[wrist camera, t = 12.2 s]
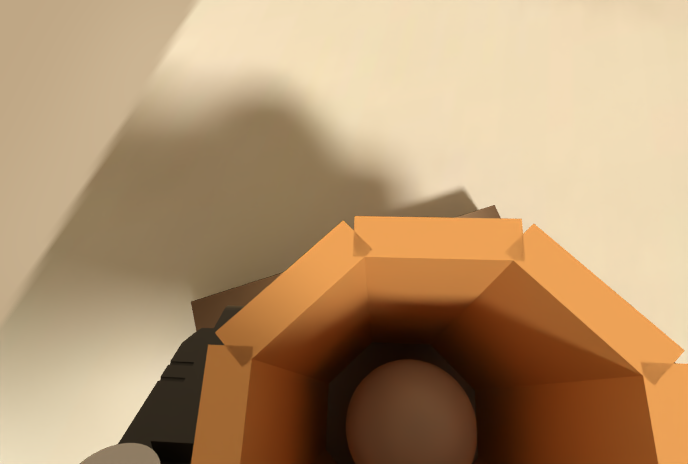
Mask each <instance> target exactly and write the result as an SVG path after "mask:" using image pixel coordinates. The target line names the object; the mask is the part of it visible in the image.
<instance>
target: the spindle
mask: <svg viewBox="0 0 688 464" xmlns="http://www.w3.org/2000/svg"><path fill="white" fill-rule="evenodd" d="M455 218H499V219H501V218H500V216H499V214H498V212H497V209H496V207H495V205H493V206H490V207H487V208H484V209H480V210H477V211H474V212H471V213H468V214H465V215H462V216H458V217H455ZM283 273H284V272H283ZM281 274H282V273H280V274H277V275H273V276H270V277H267V278H264V279H261V280H258V281H255V282H251V283H248V284H245V285H242V286H239V287H236V288H233V289H229V290H226V291H223V292H220V293H217V294H214V295H211V296H208V297H204V298H201V299H198V300H195V301H192V302H191V305H192V310H193V315H194V320H195V326H196V331H198V330H199V329H200V328H214V327H215V325H216V323H217V321H218V320H219V318H220V316H221V314H222V312H223V311H224V309H225V307H227V306H228V305H230V306H246V305H247V304H248V303H249V302H250V301H252V300H253V299H254V298H255V297H256V296H257V295H258V294H260V293H261V292H262V291H263V290H264V289H265V288H266V287H268V286H269V285H270V284H271V283H272V282H273V281H274V280H276V279H277V278H278V277H279V276H280V275H281ZM325 449H326V450H327V452H328V453H329V454H330V455H331V457H332V458H333V459H334V460H335V462H336V463H337V464H473V463H474V462H475V461H476V460H477V459H478V443H477V423H476V403H475V390H474V389H473V388H472V387H471V386H470V385H469V384H468V383H467V382H466V381H465V380H464V379H463V378H462V377H461V376H460V375H459V373H458V372H457V371H456V370H455V369H454V368H453V367H452V366H451V365H450V364H449V363H448V362H447V361H446V360H445V359H444V358H443V357H442V356H441V355H440V354H439V353H438V352H437V351H436V350H435V349H434V348H433V347H432V346H431V345H427V344H401V343H376V342H372V343H371V344H370V345H369V346H368V347H367V348H366V349H364V350H363V351H362V352H361V353H360V354H359V355H358V356H357V357H356V358H355V359H354V360H353V361H352V362H351V363H350V364H349V365H348V366H347V367H346V368H345V369H344V370H343V371H342V372H340V373H339V374H338V375H337V376H336V377H335V378H334V379H333V380H332V381H331V382H330V383H329V391H328V410H327V428H326V446H325Z"/></svg>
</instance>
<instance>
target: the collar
mask: <svg viewBox="0 0 688 464" xmlns="http://www.w3.org/2000/svg"><path fill="white" fill-rule="evenodd" d="M215 333H216V335H217V336H218V337H219V339H220V340H221V341H222V342H223V344H224V345H208V350H207V356H206V363H205V370H204V377H203V384H202V391H201V398H200V405H199V412H198V419H197V425H196V432H195V439H194V446H193V453H192V460H191V464H337V463H336V462H335V460H334V459H333V458H332V457H331V455H330V454H329V453H328V452H327V450H326V449H325V446H326V428H327V410H328V391H329V383H330V382H331V381H332V380H333V379H334V378H335V377H336V376H337V375H338V374H339V373H340V372H342V371H343V370H344V369H345V368H346V367H347V366H348V365H349V364H350V363H351V362H352V361H353V360H354V359H355V358H356V357H357V356H358V355H359V354H360V353H361V352H362V351H363V350H364V349H366V348H367V347H368V346H369V345H370V344H371V343H372V342H376V343H401V344H427V345H431V346H432V347H433V348H434V349H435V350H436V351H437V352H438V353H439V354H440V355H441V356H442V357H443V358H444V359H445V360H446V361H447V362H448V363H449V364H450V365H451V366H452V367H453V368H454V369H455V370H456V371H457V372H458V373H459V375H460V376H461V377H462V378H463V379H464V380H465V381H466V382H467V383H468V384H469V385H470V386H471V387H472V388H473V389H474V390H475V403H476V423H477V443H478V459H477V460H476V461H475V462H474V463H473V464H688V364H676V363H674V362H675V361H676V360H677V359H678V358H679V356H680V355H681V354H682V353H683V352H684V351H685V350H683V349H682V348H681V347H680V346H679V345H677V344H676V343H675V342H674V341H673V340H671V339H670V338H669V337H668V336H667V335H666V334H664V333H663V332H662V331H661V330H660V329H658V328H657V327H656V326H655V325H654V324H652V323H651V322H650V321H649V320H648V319H647V318H645V317H644V316H643V315H642V314H641V313H639V312H638V311H637V310H636V309H635V308H634V307H632V306H631V305H630V304H629V303H628V302H626V301H625V300H624V299H623V298H622V297H620V296H619V295H618V294H617V293H616V292H615V291H613V290H612V289H611V288H610V287H609V286H607V285H606V284H605V283H604V282H603V281H601V280H600V279H599V278H598V277H597V276H596V275H594V274H593V273H592V272H591V271H590V270H588V269H587V268H586V267H585V266H584V265H582V264H581V263H580V262H579V261H578V260H577V259H575V258H574V257H573V256H572V255H571V254H569V253H568V252H567V251H566V250H565V249H563V248H562V247H561V246H560V245H559V244H558V243H556V242H555V241H554V240H553V239H552V238H550V237H549V236H548V235H547V234H546V233H544V232H543V231H542V230H541V229H540V228H539V227H537V226H536V225H535V224H533V225H532V226H531V227H530V228H529V229H528V230H527V231H526V232H525V233H524V234H523V229H522V219H499V218H439V217H379V216H355V219H354V230H353V229H352V228H351V227H350V226H349V225H348V224H347V223H346V222H345V221H344V220H343V221H342V222H341V223H340V224H338V225H337V226H336V227H335V228H334V229H333V230H332V231H330V232H329V233H328V234H327V235H326V236H325V237H324V238H322V239H321V240H320V241H319V242H318V243H317V244H316V245H314V246H313V247H312V248H311V249H310V250H309V251H308V252H306V253H305V254H304V255H303V256H302V257H301V258H300V259H298V260H297V261H296V262H295V263H294V264H293V265H292V266H290V267H289V268H288V269H287V270H286V271H285V272H284V273H282V274H281V275H280V276H279V277H278V278H277V279H276V280H274V281H273V282H272V283H271V284H270V285H269V286H268V287H266V288H265V289H264V290H263V291H262V292H261V293H260V294H258V295H257V296H256V297H255V298H254V299H253V300H252V301H250V302H249V303H248V304H247V305H246V306H245V307H244V308H242V309H241V310H240V311H239V312H238V313H237V314H236V315H234V316H233V317H232V318H231V319H230V320H229V321H228V322H226V323H225V324H224V325H223V326H222V327H221V328H220V329H218V330H217V331H216V332H215Z"/></svg>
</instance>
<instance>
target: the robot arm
mask: <svg viewBox="0 0 688 464" xmlns="http://www.w3.org/2000/svg"><path fill="white" fill-rule="evenodd" d="M244 307H245V306H230V305H228V306H227V307H225V309H224V311H223V312H222V314H221V316H220V318H219V320H218V321H217V323H216V325H215V327H214V328H200V329H199V330H198V331H197V332H195V333H194V334H193V335H192V336H190V337H189V338H188V339H186V340H185V341H184V342H183V343H182V344H181V345H180V347H179V349H178V350H177V352H176V353H175V355H174V357H173V358H172V360H171V363H170V365H168V366H167V368H166V369H165V371H164V372H163V374H162V375H161V380H160V381H158V382H157V383H156V385H155V387H154V388H153V390H152V391H151V393H150V394H149V396H148V398H147V399H146V401H145V402H144V404H143V405H142V407H141V409H140V410H139V412H138V413H137V415H136V417H135V418H134V420H133V421H132V423H131V424H130V426H129V428H128V429H127V431H126V432H125V434H124V435H123V437H122V439H121V440H120V442H119V443H118V444H117V445H114V446H110V447H107V448H105V449H102V450H100V451H98V452H96V453H94V454H93V455H91V456H90V457H88V458H86V459H85V460H84V461H82V462H81V463H80V464H191V460H192V453H193V446H194V439H195V432H196V425H197V419H198V412H199V405H200V398H201V391H202V384H203V377H204V370H205V363H206V356H207V350H208V345H224V344H223V342H222V341H221V340H220V339H219V337H218V336H217V335H216V333H215V332H216V331H217V330H218V329H220V328H221V327H222V326H223V325H224V324H225V323H226V322H228V321H229V320H230V319H231V318H232V317H233V316H234V315H236V314H237V313H238V312H239V311H240V310H241V309H242V308H244ZM674 363H675V362H674Z"/></svg>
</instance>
